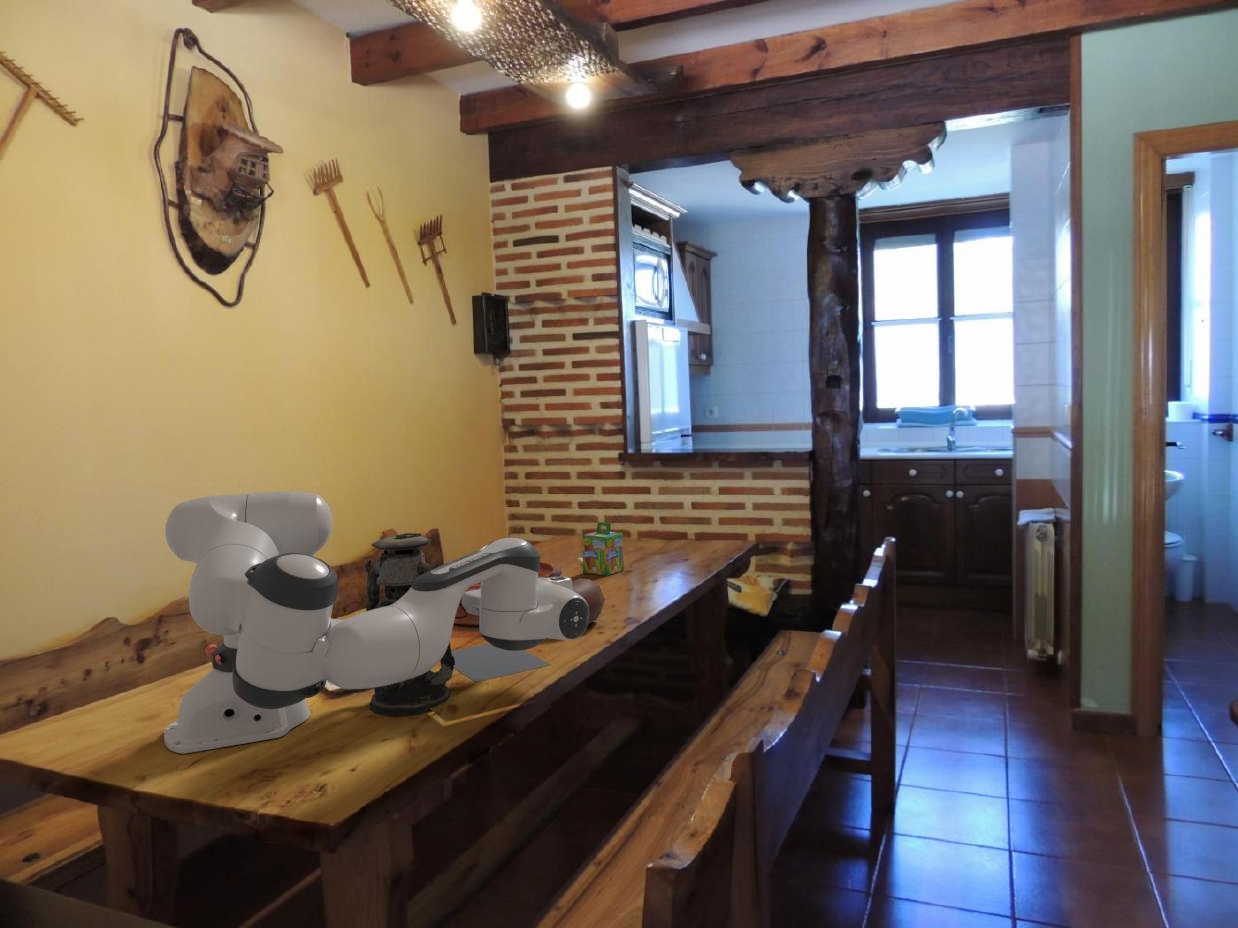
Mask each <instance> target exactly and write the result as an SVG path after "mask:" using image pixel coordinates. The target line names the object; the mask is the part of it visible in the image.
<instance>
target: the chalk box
mask: <svg viewBox="0 0 1238 928" xmlns="http://www.w3.org/2000/svg"><path fill="white" fill-rule="evenodd" d="M611 524H612V523H610V522H602V521H599V522H597V525H596V531H594V532H591V533H587V534H582V535H581V537H582V540H581V541H582V573H583V574H588V575H597V576H602V577H603V576H604V577H608V576H611V575H613V574H617V573H619V572H624V570H625V562H624V561H625V560H624V559H625V558H624V557H625V556H624V555H625V554H624V552H625V551H624V533H622V532H617V531H611ZM602 527H605V530H602Z"/></svg>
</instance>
